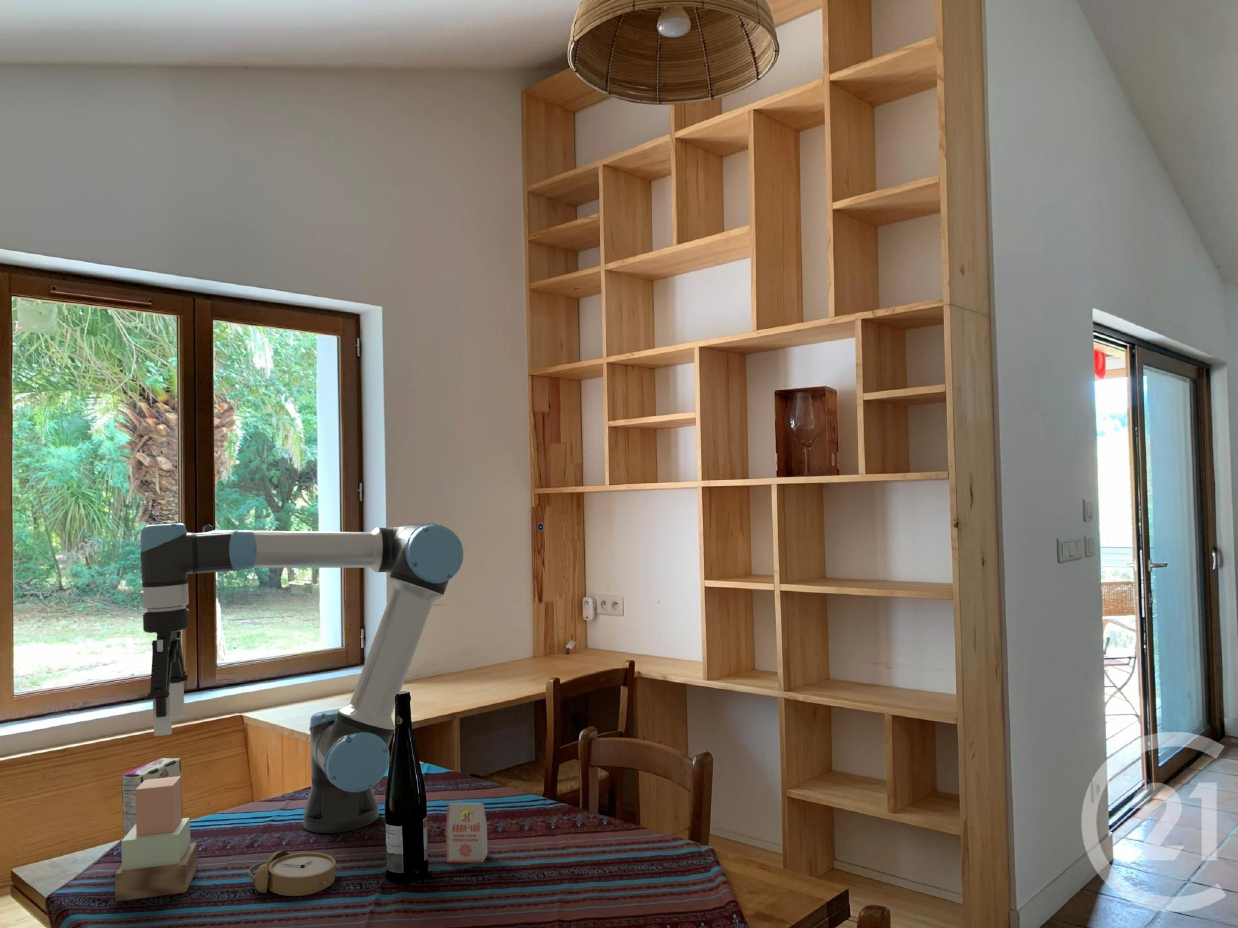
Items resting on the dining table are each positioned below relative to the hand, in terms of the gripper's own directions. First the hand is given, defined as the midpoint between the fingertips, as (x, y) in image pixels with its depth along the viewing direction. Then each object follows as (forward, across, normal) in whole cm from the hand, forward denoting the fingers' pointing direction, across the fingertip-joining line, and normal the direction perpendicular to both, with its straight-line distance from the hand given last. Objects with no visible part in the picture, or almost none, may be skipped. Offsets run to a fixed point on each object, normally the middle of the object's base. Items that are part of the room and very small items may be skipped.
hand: (170, 726), depth 167 cm
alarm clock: (+28, +11, +20) cm, 36 cm away
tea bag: (+28, +12, +51) cm, 59 cm away
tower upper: (+22, +2, -2) cm, 22 cm away
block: (+17, +2, -2) cm, 17 cm away
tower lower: (+27, +3, -2) cm, 27 cm away
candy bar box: (+27, -16, -6) cm, 32 cm away
